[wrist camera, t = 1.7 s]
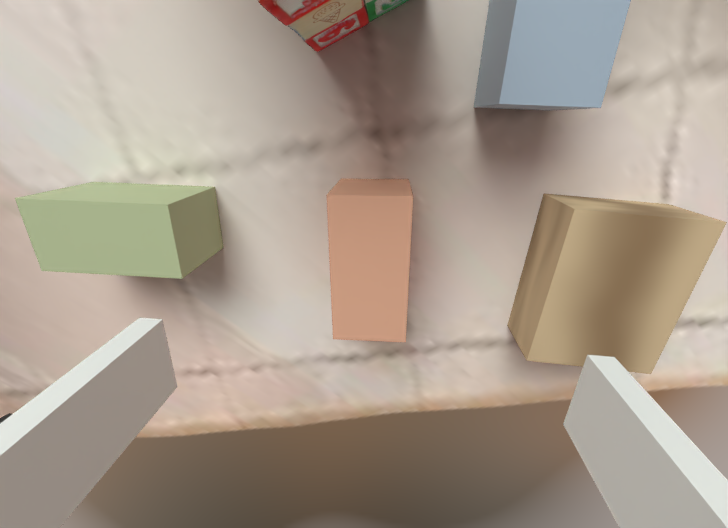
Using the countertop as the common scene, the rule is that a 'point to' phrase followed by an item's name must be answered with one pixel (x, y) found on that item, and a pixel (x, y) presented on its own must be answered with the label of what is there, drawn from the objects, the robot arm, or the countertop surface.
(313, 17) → the stack of blocks
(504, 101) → the slate blue brick
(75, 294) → the countertop surface
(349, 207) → the terracotta brick
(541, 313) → the oak double brick
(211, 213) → the olive brick
